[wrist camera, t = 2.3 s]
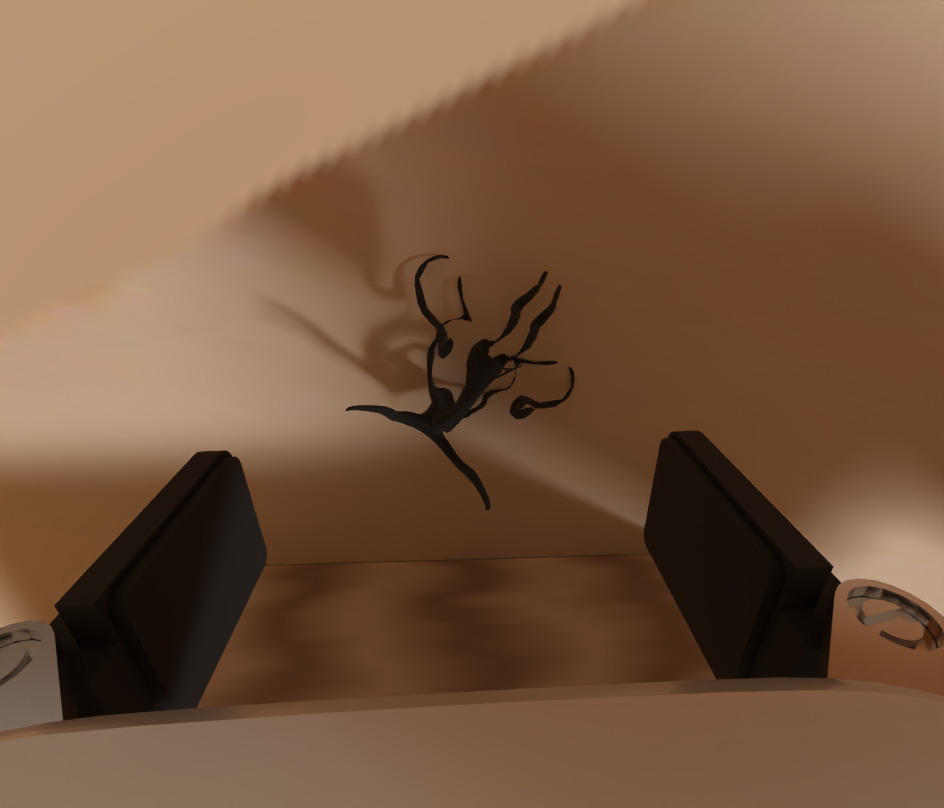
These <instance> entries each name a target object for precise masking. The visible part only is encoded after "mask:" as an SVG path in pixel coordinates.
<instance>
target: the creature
mask: <svg viewBox="0 0 944 808" xmlns="http://www.w3.org/2000/svg"><path fill="white" fill-rule="evenodd" d="M441 257H442V258H447V259H448V258H449V257H448V256H445V255H438V256H433V257H431V258H429V259H427V260H426V261H425V262H424V263H423V264H422V265H421V266H420V267H419V269H418V271H417V273H416V275H415V290H416V296H417V302H418V305H419V307H420V310H421V312H422V314H423V315H424V316H425V317H426V318H427V319H428V321H429V322H430V323H431V324H432V325H433V326H434V327H435V328H436V330H437V335H436V339H435V340H434V341H433V343H432V344H431V346H430V348H429V349H428V354H427V372H428V386H429V393H430V398H431V401H432V403H431V405H430V407H429V408H428V409H427V410H426V411H425V412H424V413H422V414H416V413H412V412H407V411H395V410H393V409H391V408H388V407H385V406H375V405H359V406H351V407H348V408H347V409H346V411H349V410H360V411H370V412H375V413H381V414H382V415H384V416H385V417H387V418H389V419H390V420H392V421H396V422H400V423H403V424H406V425H408V426H411V427H414V428H416V429H417V430H419V431H421V432H423V433H424V434H426V435H427V436H428V437H429V438H430V439H431V440H433V441H434V442H435V443H436V444H437V445H438V447H439V448H440V449H441V450H442V451H443V452H444V453H445V454H446V456H447V457H448V458H449V459H450V460H451V461H452V463H453V464H454V465H455V466H456V467H457V468H458V469H459V470H460V471H461V472H462V473H463V474H464V475H465V476H466V477H467V478H468V479H469V480H470V481H471V482H472V483H473V484H474V486H475V487H476V488H477V490H478V492H479V493H480V495H481V497H482V499H483V501H484V503H485V506H486V510H489V509H490V506H491V505H490V500H489V497H488V495H487V492H486V490H485V488H484V486H483V484H482V482H481V480H480V478H479V477H478V475H477V474H476V473H475V471H474V470H473V469H471V468H470V467H469V466H468V465H466V464H465V463H464V462H463V461H462V460H461V459H460V458H459V457H458V455H457V454H456V452H455V451H454V450H453V448H452V447H451V445H450V443H449V442H448V441H447V439H446V438H445V436H444V434H443V431H445V432H446V433H448V432H450V431H451V430H452V429H453V428H454V427H455V426H456V425H457V424H458V423H459V422H460V421H461V420H462V419H464V418H466V417H469V416H470V415H471V414H473V413H474V412H476V411H478V410H480V409H482V408H483V407H484V406H485V405H486V404H487V400H488V398H489V397H490V396H491V395H493V394H494V393H497V392H499V391H503V390H507V389H509V388H510V387H511V385H512V384H513V382H514V380H515V377H514V379H513V381H512V383H511V385H510V386H509V387H508V388H505V389H499V390H492V391H489V392H487V393H485V394H484V395H483V399H482V402H481V403H480V404H479V405H478V406H477V407H475V408H473V409H471V407H472V406H473V405H474V403H475V402H476V401H477V399H478V398H479V397H480V395H481V394H482V393H483V392H484V391H485V389H486V388H487V387H488V386H489V385H490V384H491V383H492V382H493V381H494V380H495V379H496V378H499V377H501V376H503V375H505V374H507V373H509V372H511V371H513V370H515V369H517V368H519V367H521V366H518V365H519V364H520V363H528V364H540V365H550V364H556V363H559V362H556V361H543V362H532V361H528V360H523V359H519V358H517V356H518V355H520V354H521V353H523V352H524V351H526V350H527V349H529V348H530V347H531V345H532V344H533V342H534V341H535V339H536V337H537V334H538V332H539V328H540V327H541V326H542V325H543V324H544V323H545V322H546V320H547V319H548V318H549V317H550V315H551V314H552V313H553V312H554V310H555V308H556V303H557V299H558V297H559V294H560V291H561V287H562V286H561V285H560V284H559V286H558V287H557V289H556V291H555V293H554V296H553V300H552V302H551V304H550V305H549V307H547V308H546V309H545V310H544V311H543V312H541V313H540V314H539V315H538V316H537V317H536V318H535V319H534V321H533V322H532V323H531V325H530V331H529V334H528V336H527V338H526V340H525V343H524V345H523V347H522V348H521V350H520V351H519V352H518V353H517V354H516V355H515V356H512V357H509V356H507V355H505V354H503V353H502V354H500V355H498V356H495V357H493V358H492V357H491V356H489V355H488V353H489V347H491V346H493V345H494V344H495V343H496V342H498V341H499V340H501V339H502V338H504V337H505V336H507V335H508V334H510V332H511V331H512V330H513V329H514V327H515V326H516V325H517V323H518V321H519V318H520V313H521V310H522V308H523V307H524V306H525V305H526V304H527V303H528V302H530V301H531V300H532V298H533V297H534V296H535V295H536V294H537V293H538V291H539V290H540V287H541V286H542V284H543V283H544V281H545V278H546V276H547V274H548V272H547V271H545V272H544V273H543V274H542V276H541V278H540V280H539V283H538V285H536V286H534V287H533V288H532V289H531V290H529V291H528V292H527V293H526V294H524V295H522V296H521V297H520V298H518V299H517V300H516V301H515V302H514V303H513V305H512V307H511V316H510V318H509V321H508V324H507V326H506V328H505V330H504V331H503V333H502V335H501V336H500V337H499V338H498V339H497V340H495V341H490V340H487V339H483V340H481V341H479V342H478V343H476V344H475V345H474V346H473V347H472V348H471V351H470V353H469V355H468V359H467V363H466V368H467V375H466V385H465V387H464V389H463V391H462V393H461V395H460V396H459V398H458V400H457V402H456V403H455V401H454V398H453V395H452V393H451V391H450V390H448V389H446V388H437V387H436V386H435V385H434V383H433V379H432V365H433V360H434V350H435V347H436V344H437V341H438V344H437V346H438V355H439V357H441V358H442V359H443V358H445V357H447V355H448V354H449V353H450V352H451V350H452V348H453V341H452V339H451V338H449V339H448V340H447V333H446V331H445V329H444V327H443V325H444V324H446V323H448V322H449V321H451V320H449V321H446V322H445V323H444V324H441V323H440V322H439V321H438V320H437V319H436V318H435V316H434V315H433V314H432V313H431V312H430V311H429V310H428V308H427V306H426V302H425V298H424V295H423V291H422V288H421V284H420V280H419V279H420V277H421V275H422V273H423V271H424V269H425V267H426V265H427V264H428V262H430V261H433V260H435V259H438V258H441ZM458 290H459V294H460V298H461V302H462V306H463V311H464V315H463V316H462V317H460V318H458V319H464V320H467V321H470V322H472V320H471V318H470V316H469V314H468V311H467V309H466V306H465V303H464V301H463V295H462V284H461V277H460V276H459V279H458ZM453 320H454V319H453ZM512 360H513V361H514V363H515V365H516V367H515V368H504V366H505V364H506V363H507V362H509V361H512ZM517 366H518V367H517ZM503 369H505V372H504V373H503V374H502V375H500V376H499V374H500V373H501V372H502V370H503ZM569 370H570V373H571V376H572V380H571V388H570V389H569V391H568V392H567V394H566V395H565V397H564V398H563V399H561V400H554V401H548V402H541V403H539V402H537V401H535V400H533V399H531V398H529V397H527V396H522V395H520V396H519V397H518V398H516V399H515V400H514V401H513V403H512V404H511V409H510V413H511V415H512V416H513V417H514V418H516V419H524V418H525V417H527V416H528V415H530V414H531V413H532V412H533V411H534V410H535V409H534V408H550V407H555V406H557V405H559V404H560V403H562V402H563V401H565V400H566V399H567V398H568V397H569V396H570V394H571V391H572V389H573V386H574V371H573V369H572V368H571V367H569ZM515 376H516V374H515ZM526 404H529V405H531V406H532V407H534V408H532V407H530V408H524V409H521V408H523V407H524V406H525V405H526ZM470 409H471V410H470Z"/></svg>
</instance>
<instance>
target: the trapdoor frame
mask: <svg viewBox="0 0 944 808" xmlns="http://www.w3.org/2000/svg"><path fill="white" fill-rule="evenodd" d="M686 680H716V678H715V676H714V674H713V672H712V670H711V668H710V667H709V665H708V663H707V661H706V659H705V657H704V655H703V653H702V651H701V649H700V648H699V646H698V644H697V642H696V640H695V638H694V636H693V634H692V632H691V631H690V629H689V627H688V625H687V623H686V621H685V619H684V617H683V615H682V613H681V612H680V610H679V608H678V606H677V604H676V602H675V600H674V598H673V596H672V595H671V593H670V591H669V589H668V587H667V585H666V583H665V581H664V579H663V577H662V576H661V574H660V572H659V570H658V568H657V566H656V564H655V562H654V560H653V559H652V557H651V555H650V554H648V555H614V556H580V557H547V558H513V559H479V560H445V561H411V562H377V563H343V564H310V565H276V566H265V567H264V569H263V571H262V573H261V575H260V577H259V579H258V581H257V583H256V585H255V587H254V590H253V592H252V594H251V596H250V598H249V600H248V602H247V604H246V606H245V608H244V610H243V612H242V615H241V617H240V619H239V621H238V623H237V625H236V627H235V629H234V631H233V633H232V635H231V637H230V640H229V642H228V644H227V646H226V648H225V650H224V652H223V654H222V656H221V658H220V660H219V662H218V664H217V667H216V669H215V671H214V673H213V675H212V677H211V679H210V681H209V683H208V685H207V687H206V689H205V692H204V694H203V696H202V698H201V700H200V702H199V704H198V706H197V708H205V707H221V706H237V705H253V704H269V703H286V702H302V701H318V700H334V699H350V698H367V697H385V696H403V695H420V694H438V693H456V692H474V691H492V690H510V689H528V688H547V687H567V686H587V685H607V684H627V683H647V682H667V681H686Z"/></svg>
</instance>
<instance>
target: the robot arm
mask: <svg viewBox="0 0 944 808" xmlns="http://www.w3.org/2000/svg"><path fill="white" fill-rule="evenodd" d="M644 540H645V544H646V547H647V549H648V551H649V553H650V555H651V557H652V559H653V560H654V562H655V564H656V566H657V568H658V570H659V572H660V574H661V576H662V577H663V579H664V581H665V583H666V585H667V587H668V589H669V591H670V593H671V595H672V596H673V598H674V600H675V602H676V604H677V606H678V608H679V610H680V612H681V613H682V615H683V617H684V619H685V621H686V623H687V625H688V627H689V629H690V631H691V632H692V634H693V636H694V638H695V640H696V642H697V644H698V646H699V648H700V649H701V651H702V653H703V655H704V657H705V659H706V661H707V663H708V665H709V667H710V668H711V670H712V672H713V674H714V676H715V678H716V680H686V681H667V682H647V683H627V684H607V685H587V686H567V687H547V688H528V689H510V690H492V691H474V692H456V693H438V694H420V695H403V696H385V697H367V698H350V699H334V700H318V701H302V702H286V703H269V704H253V705H237V706H221V707H205V708H197V706H198V704H199V702H200V700H201V698H202V696H203V694H204V692H205V689H206V687H207V685H208V683H209V681H210V679H211V677H212V675H213V673H214V671H215V669H216V667H217V664H218V662H219V660H220V658H221V656H222V654H223V652H224V650H225V648H226V646H227V644H228V642H229V640H230V637H231V635H232V633H233V631H234V629H235V627H236V625H237V623H238V621H239V619H240V617H241V615H242V612H243V610H244V608H245V606H246V604H247V602H248V600H249V598H250V596H251V594H252V592H253V590H254V587H255V585H256V583H257V581H258V579H259V577H260V575H261V573H262V571H263V569H264V567H265V564H266V559H267V550H266V546H265V543H264V539H263V536H262V533H261V529H260V526H259V523H258V519H257V516H256V513H255V509H254V506H253V503H252V499H251V496H250V492H249V489H248V486H247V482H246V479H245V476H244V472H243V469H242V466H241V463H240V460H239V459H238V458H237V457H232V455H231V454H230V453H229V452H228V451H204V452H197V453H196V454H195V455H194V456H193V457H192V458H191V459H190V460H189V461H188V462H187V463H186V464H185V465H184V466H183V467H182V469H181V470H180V471H179V472H178V473H177V474H176V475H175V476H174V477H173V478H172V479H171V480H170V481H169V483H168V484H167V485H166V486H165V487H164V488H163V489H162V490H161V491H160V492H159V493H158V494H157V495H156V497H155V498H154V499H153V500H152V501H151V502H150V503H149V504H148V505H147V506H146V507H145V508H144V510H143V511H142V512H141V513H140V514H139V515H138V516H137V517H136V518H135V519H134V520H133V521H132V522H131V524H130V525H129V526H128V527H127V528H126V529H125V530H124V531H123V532H122V533H121V534H120V535H119V536H118V538H117V539H116V540H115V541H114V542H113V543H112V544H111V545H110V546H109V547H108V548H107V549H106V550H105V552H104V553H103V554H102V555H101V556H100V557H99V558H98V559H97V560H96V561H95V562H94V563H93V564H92V566H91V567H90V568H89V569H88V570H87V571H86V572H85V573H84V574H83V575H82V576H81V577H80V578H79V580H78V581H77V582H76V583H75V584H74V585H73V586H72V587H71V588H70V589H69V590H68V591H67V592H66V594H65V595H64V596H63V597H62V598H61V599H60V600H59V601H58V602H57V603H56V604H55V605H54V606H55V608H56V609H57V611H58V613H59V614H58V616H57V617H56V618H55V619H54V620H53V621H52V622H51V623H50V624H46V623H44V622H42V621H25V622H20V623H15V624H11V625H8V626H5V627H3V628H0V808H944V617H943V616H942V615H941V614H939V613H938V612H937V611H936V610H935V609H933V608H932V607H931V606H930V605H928V604H927V603H925V602H924V601H922V600H920V599H919V598H917V597H915V596H914V595H912V594H910V593H908V592H906V591H904V590H901V589H899V588H897V587H895V586H892V585H889V584H886V583H882V582H879V581H875V580H867V579H852V580H846V581H844V582H843V583H841V582H840V581H839V580H838V579H837V578H836V577H835V576H834V575H833V574H832V573H831V571H832V569H833V566H832V565H831V564H830V563H829V562H828V561H827V560H826V559H825V558H824V557H823V556H822V555H821V554H820V553H819V552H818V551H817V550H816V548H815V547H814V546H813V545H812V544H811V543H810V542H809V541H808V540H807V539H806V538H805V537H804V536H803V535H802V534H801V533H800V532H799V531H798V530H797V529H796V528H795V527H794V526H793V525H792V524H791V523H790V522H789V521H788V520H787V519H786V518H785V517H784V516H783V515H782V514H781V513H780V512H779V511H778V510H777V509H776V508H775V507H774V506H773V505H772V504H771V503H770V502H769V501H768V500H767V499H766V498H765V497H764V496H763V494H762V493H761V492H760V491H759V490H758V489H757V488H756V487H755V486H754V485H753V484H752V483H751V482H750V481H749V480H748V479H747V478H746V477H745V476H744V475H743V474H742V473H741V472H740V471H739V470H738V469H737V468H736V467H735V466H734V465H733V464H732V463H731V462H730V461H729V460H728V459H727V458H726V457H725V456H724V455H723V454H722V453H721V452H720V451H719V450H718V449H717V448H716V447H715V446H714V445H713V444H712V443H711V442H710V440H709V439H708V438H707V437H706V436H705V435H704V434H703V433H701V432H700V431H677V432H671V433H670V434H669V436H668V438H664V439H662V441H661V443H660V447H659V453H658V458H657V464H656V469H655V474H654V480H653V485H652V491H651V496H650V501H649V507H648V512H647V518H646V523H645V529H644Z"/></svg>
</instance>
